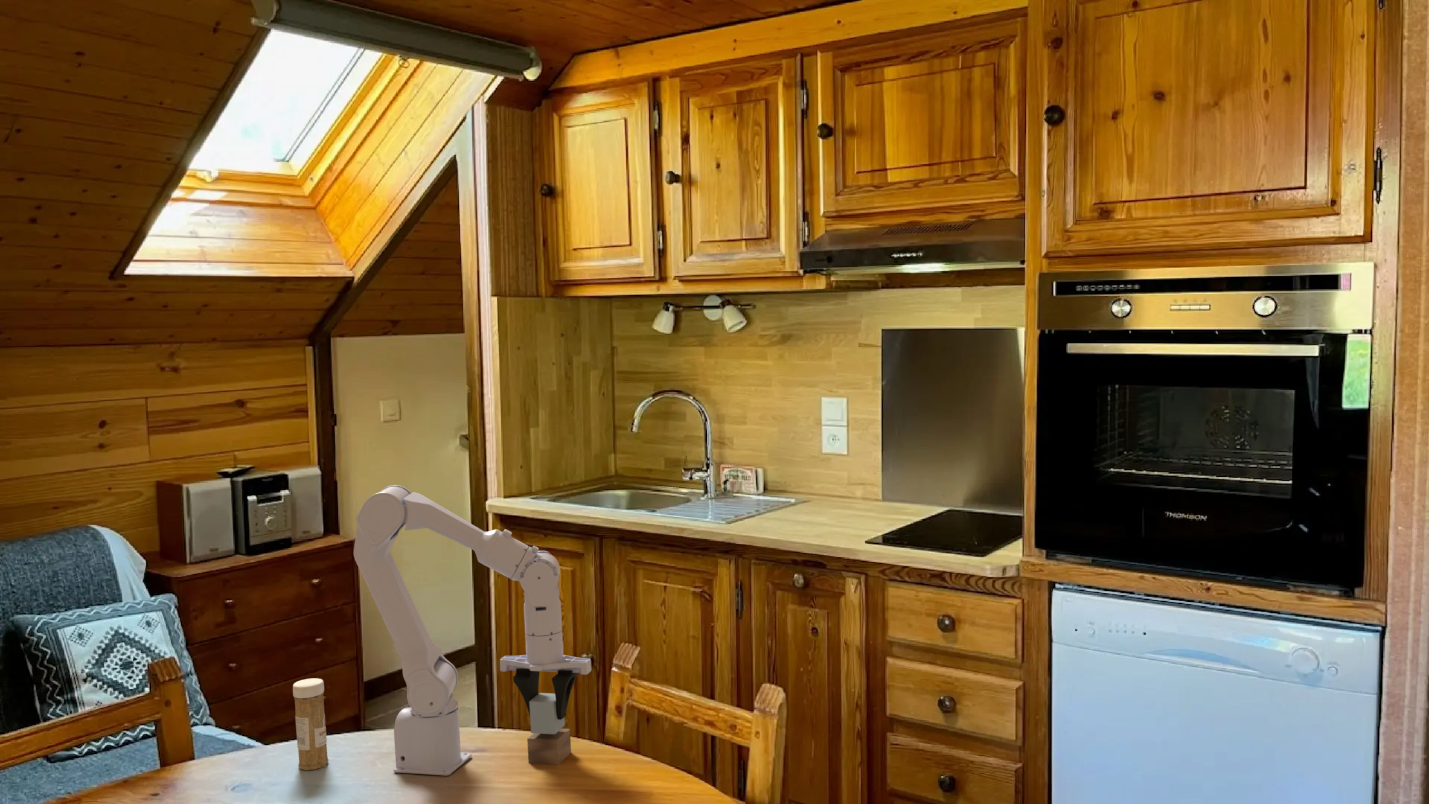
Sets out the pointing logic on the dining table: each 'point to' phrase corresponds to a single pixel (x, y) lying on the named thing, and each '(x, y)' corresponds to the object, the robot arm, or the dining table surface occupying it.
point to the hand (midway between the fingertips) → (548, 716)
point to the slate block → (544, 714)
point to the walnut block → (549, 747)
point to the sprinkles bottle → (310, 723)
